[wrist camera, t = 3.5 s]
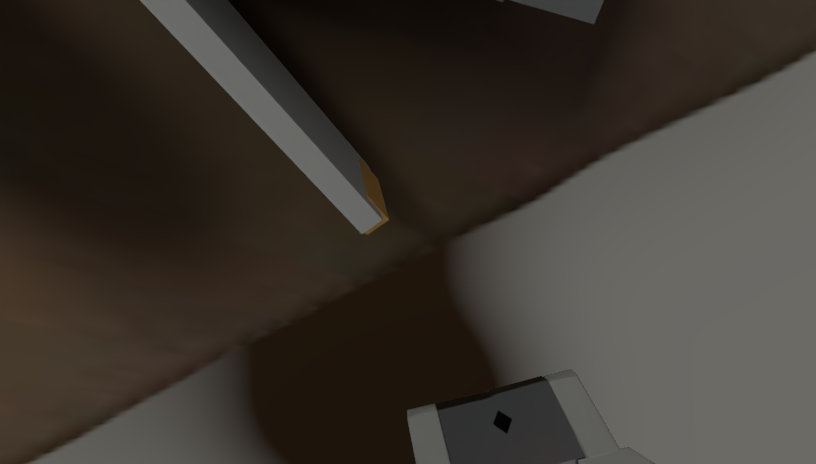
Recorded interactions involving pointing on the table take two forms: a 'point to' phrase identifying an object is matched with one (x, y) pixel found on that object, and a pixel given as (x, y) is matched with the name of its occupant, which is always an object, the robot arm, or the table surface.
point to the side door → (275, 103)
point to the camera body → (568, 8)
